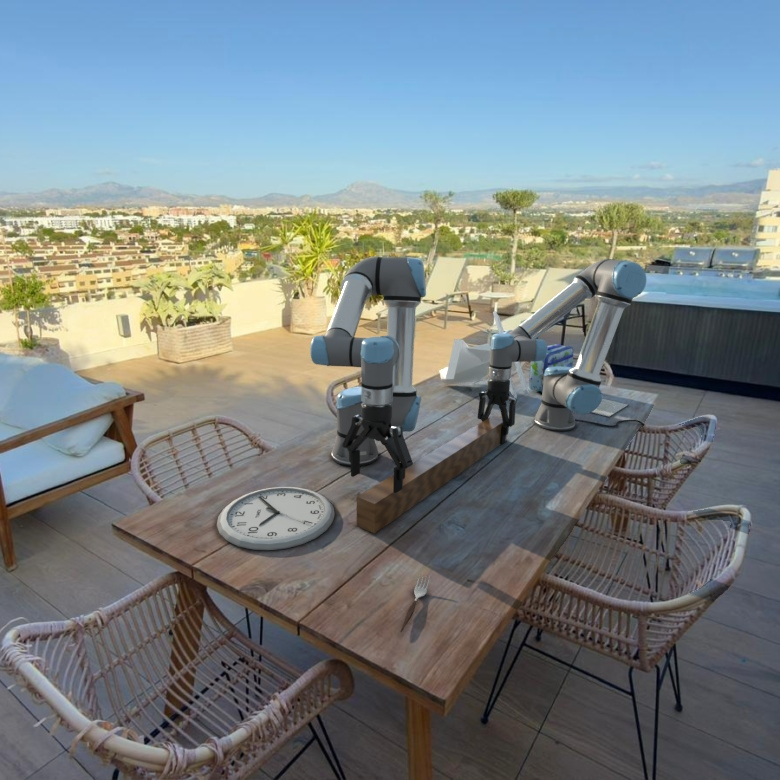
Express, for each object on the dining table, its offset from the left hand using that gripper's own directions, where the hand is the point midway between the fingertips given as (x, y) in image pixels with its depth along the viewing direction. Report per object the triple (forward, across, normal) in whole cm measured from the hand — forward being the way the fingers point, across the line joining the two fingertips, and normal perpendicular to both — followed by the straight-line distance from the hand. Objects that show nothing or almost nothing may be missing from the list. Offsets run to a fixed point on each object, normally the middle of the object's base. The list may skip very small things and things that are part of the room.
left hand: (376, 482), depth 131 cm
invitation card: (+12, +19, +133) cm, 135 cm away
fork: (+12, +26, -20) cm, 34 cm away
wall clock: (+12, -22, -14) cm, 28 cm away
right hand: (+11, 0, +68) cm, 69 cm away
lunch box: (+12, -8, +144) cm, 145 cm away
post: (+12, 0, +34) cm, 36 cm away
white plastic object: (+12, -32, +118) cm, 123 cm away
